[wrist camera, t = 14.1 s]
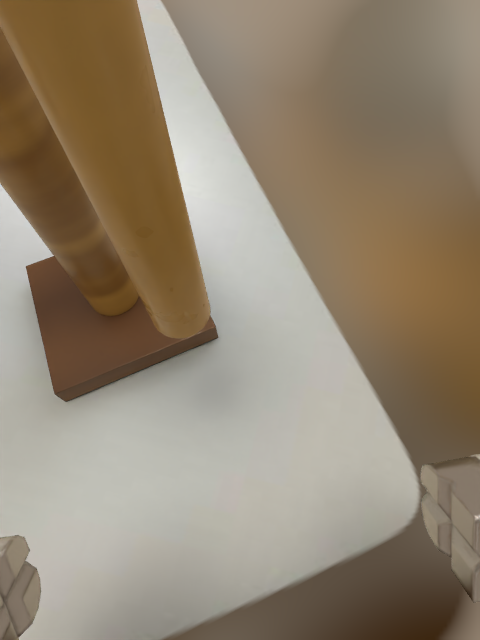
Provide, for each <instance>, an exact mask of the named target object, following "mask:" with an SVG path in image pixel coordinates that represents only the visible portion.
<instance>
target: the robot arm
mask: <svg viewBox="0 0 480 640" xmlns="http://www.w3.org/2000/svg"><path fill="white" fill-rule="evenodd" d="M421 483H422V484H423V486H424V487H425V488H426V489H427V493H426V494H425V496H424V497H423V499H422V500H421V503H422V515H423V519H424V522H425V526H426V529H427V531H428V533H429V535H430V538H431V540H432V541H433V543H434V544H435V546H436V547H437V549H438V550H439V551H440V552H442V553H444V554H446V555H447V556H449V557H451V558H452V571H453V573H454V574H455V576H456V577H457V579H458V580H459V582H460V583H461V585H462V586H463V588H464V589H465V591H466V592H467V594H468V595H469V597H470V598H471V599H472V601H473V602H480V454H477V455H472V456H470V457H465V458H459V459H454V460H448V461H443V462H437V463H432V464H426V465H423V466H422V469H421ZM29 552H30V549H29V547H28V544H27V542H26V540H25V537H22V536H19V535H15V536H9V537H2V538H0V640H19V637H20V636H21V635H22V634H23V633H24V632H25V631H26V629H27V628H28V627H29V626H30V625H31V624H32V623H33V620H34V618H35V615H36V613H37V610H38V607H39V601H40V595H41V585H40V577H39V574H38V571H37V568H35V567H34V566H32V565H31V564H30V563H28V562H27V561H25V560H26V558H27V556H28V554H29Z"/></svg>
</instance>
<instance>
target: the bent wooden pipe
mask: <svg viewBox="0 0 480 640" xmlns="http://www.w3.org/2000/svg"><path fill="white" fill-rule="evenodd" d="M0 27H1V29H2V31H3V33H4V35H5V37H6V39H7V41H8V43H9V45H10V47H11V49H12V51H13V52H14V54H15V56H16V58H17V60H18V62H19V64H20V66H21V68H22V70H23V72H24V74H25V76H26V78H27V80H28V81H29V83H30V85H31V87H32V89H33V91H34V93H35V95H36V97H37V99H38V101H39V103H40V105H41V107H42V109H43V110H44V112H45V114H46V116H47V118H48V120H49V122H50V124H51V126H52V128H53V130H54V132H55V134H56V136H57V138H58V139H59V141H60V143H61V145H62V147H63V149H64V151H65V153H66V155H67V157H68V159H69V161H70V163H71V165H72V167H73V168H74V170H75V172H76V174H77V176H78V178H79V180H80V182H81V184H82V186H83V188H84V190H85V192H86V194H87V196H88V197H89V199H90V201H91V203H92V205H93V207H94V209H95V211H96V213H97V215H98V217H99V219H100V221H101V223H102V225H103V226H104V228H105V230H106V232H107V234H108V236H109V238H110V240H111V242H112V244H113V246H114V248H115V250H116V252H117V254H118V255H119V257H120V259H121V261H122V263H123V265H124V267H125V269H126V271H127V273H128V275H129V277H130V279H131V281H132V283H133V284H134V286H135V288H136V290H137V292H138V294H139V296H140V298H141V300H142V302H143V304H144V306H145V308H146V310H147V312H148V313H149V315H150V317H151V319H152V321H153V323H154V325H155V327H156V328H157V330H158V331H159V332H161V333H162V334H163V335H165V336H168V337H171V338H178V339H180V338H187V337H190V336H192V335H195V334H196V333H198V332H199V331H200V330H201V329H203V327H204V326H205V325H206V323H207V322H208V319H209V317H210V304H209V300H208V296H207V292H206V287H205V283H204V279H203V275H202V271H201V267H200V262H199V258H198V254H197V250H196V246H195V242H194V237H193V233H192V229H191V225H190V221H189V217H188V212H187V208H186V204H185V200H184V196H183V192H182V187H181V183H180V179H179V175H178V171H177V167H176V162H175V158H174V154H173V150H172V146H171V141H170V137H169V133H168V129H167V125H166V121H165V116H164V112H163V108H162V104H161V100H160V96H159V91H158V87H157V83H156V79H155V75H154V71H153V66H152V62H151V58H150V54H149V50H148V46H147V41H146V37H145V33H144V29H143V25H142V21H141V16H140V12H139V8H138V4H137V0H0Z"/></svg>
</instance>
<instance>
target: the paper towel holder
mask: <svg viewBox="0 0 480 640" xmlns="http://www.w3.org/2000/svg"><path fill="white" fill-rule="evenodd" d="M0 184H1V185H2V186H3V188H4V189H5V190H6V192H7V193H8V194H9V196H10V197H11V199H12V200H13V201H14V203H15V204H16V205H17V207H18V208H19V209H20V211H21V212H22V213H23V215H24V216H25V217H26V219H27V220H28V221H29V223H30V224H31V225H32V227H33V228H34V229H35V231H36V232H37V233H38V235H39V236H40V238H41V239H42V240H43V242H44V243H45V244H46V246H47V247H48V248H49V250H50V251H51V252H52V254H53V255H54V256H53V257H50V258H47V259H45V260H42V261H39V262H36V263H34V264H31V265H28V266H26V269H27V274H28V278H29V283H30V287H31V292H32V296H33V300H34V305H35V309H36V314H37V318H38V323H39V327H40V331H41V336H42V340H43V345H44V349H45V354H46V358H47V362H48V367H49V371H50V376H51V380H52V385H53V389H54V394H55V395H57V396H58V397H60V398H61V399H63V400H64V401H69V400H71V399H73V398H76V397H78V396H81V395H83V394H85V393H88V392H90V391H92V390H95V389H97V388H99V387H102V386H104V385H107V384H109V383H111V382H114V381H116V380H118V379H121V378H123V377H126V376H128V375H130V374H133V373H135V372H137V371H140V370H142V369H144V368H147V367H149V366H152V365H154V364H156V363H159V362H161V361H163V360H166V359H168V358H171V357H173V356H175V355H178V354H180V353H182V352H185V351H187V350H189V349H192V348H194V347H197V346H199V345H201V344H204V343H206V342H208V341H211V340H213V339H216V338H218V334H217V330H216V326H215V324H214V322H213V320H212V318H211V316H210V317H209V319H208V322H207V323H206V325H205V326H204V327H203V329H201V330H200V331H199V332H198V333H196V334H195V335H192V336H190V337H187V338H180V339H178V338H171V337H168V336H165V335H163V334H162V333H161V332H159V331H158V330H157V328H156V327H155V325H154V323H153V321H152V319H151V317H150V315H149V313H148V312H147V310H146V308H145V306H144V304H143V302H142V300H141V298H140V296H139V294H138V292H137V290H136V288H135V286H134V284H133V283H132V281H131V279H130V277H129V275H128V273H127V271H126V269H125V267H124V265H123V263H122V261H121V259H120V257H119V255H118V254H117V252H116V250H115V248H114V246H113V244H112V242H111V240H110V238H109V236H108V234H107V232H106V230H105V228H104V226H103V225H102V223H101V221H100V219H99V217H98V215H97V213H96V211H95V209H94V207H93V205H92V203H91V201H90V199H89V197H88V196H87V194H86V192H85V190H84V188H83V186H82V184H81V182H80V180H79V178H78V176H77V174H76V172H75V170H74V168H73V167H72V165H71V163H70V161H69V159H68V157H67V155H66V153H65V151H64V149H63V147H62V145H61V143H60V141H59V139H58V138H57V136H56V134H55V132H54V130H53V128H52V126H51V124H50V122H49V120H48V118H47V116H46V114H45V112H44V110H43V109H42V107H41V105H40V103H39V101H38V99H37V97H36V95H35V93H34V91H33V89H32V87H31V85H30V83H29V81H28V80H27V78H26V76H25V74H24V72H23V70H22V68H21V66H20V64H19V62H18V60H17V58H16V56H15V54H14V52H13V51H12V49H11V47H10V45H9V43H8V41H7V39H6V37H5V35H4V33H3V31H2V29H1V27H0Z"/></svg>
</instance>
